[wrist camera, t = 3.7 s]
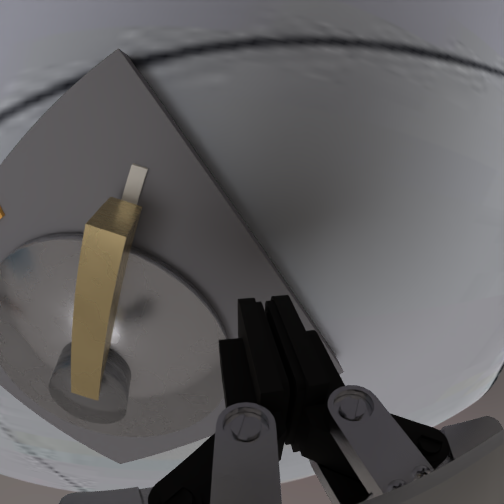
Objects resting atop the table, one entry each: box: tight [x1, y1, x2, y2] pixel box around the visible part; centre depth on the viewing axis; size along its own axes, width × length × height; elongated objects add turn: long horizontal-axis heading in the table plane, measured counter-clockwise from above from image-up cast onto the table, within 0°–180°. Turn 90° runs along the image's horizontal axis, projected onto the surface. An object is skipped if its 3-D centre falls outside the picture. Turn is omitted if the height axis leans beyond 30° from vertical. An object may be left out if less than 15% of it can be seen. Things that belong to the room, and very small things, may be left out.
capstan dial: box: [0, 197, 227, 437], centre depth 15 cm, size 20×18×4 cm
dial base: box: [0, 49, 343, 464], centre depth 19 cm, size 26×26×2 cm
